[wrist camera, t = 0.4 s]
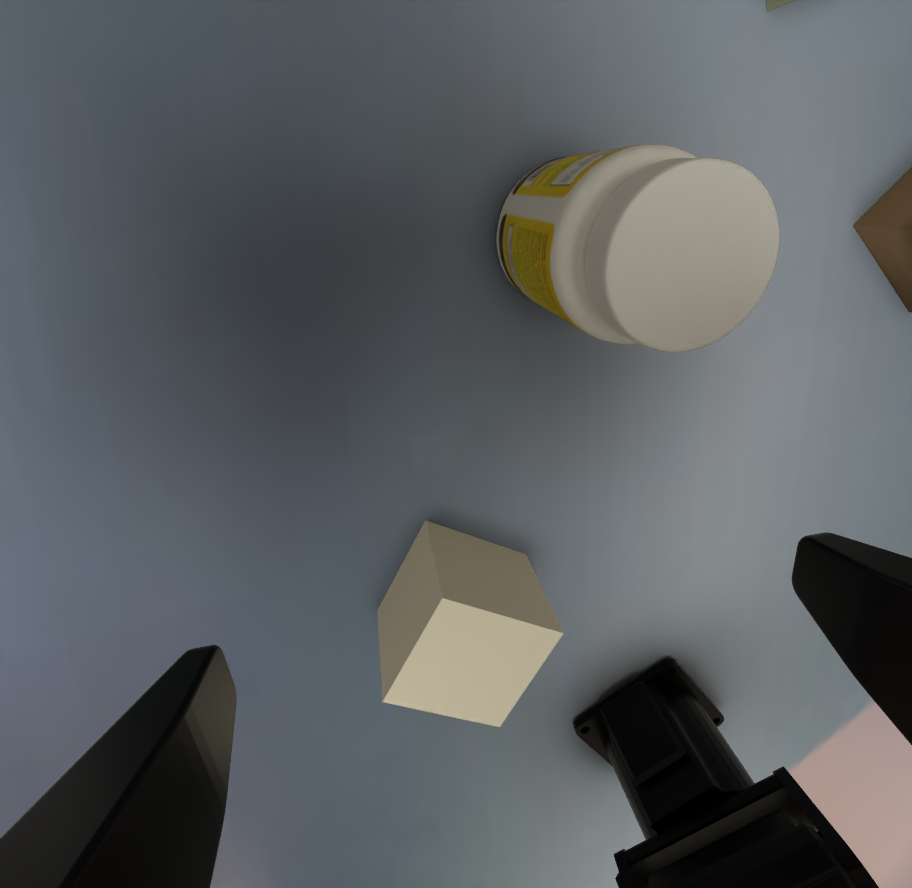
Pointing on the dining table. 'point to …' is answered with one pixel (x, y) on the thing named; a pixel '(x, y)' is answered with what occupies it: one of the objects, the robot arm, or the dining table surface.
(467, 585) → the cream block
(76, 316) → the dining table surface
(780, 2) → the sage block
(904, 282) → the walnut block
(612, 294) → the supplement bottle
